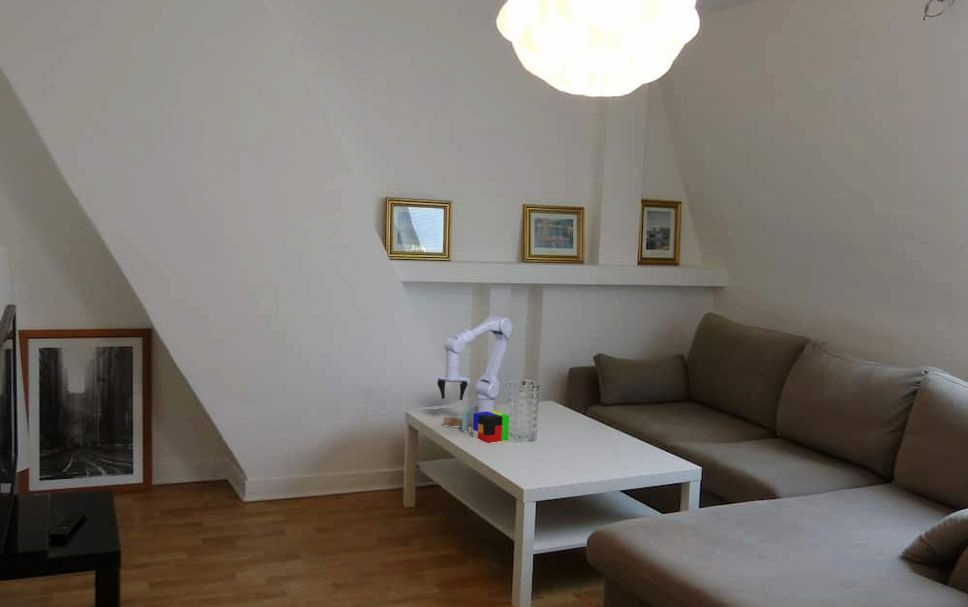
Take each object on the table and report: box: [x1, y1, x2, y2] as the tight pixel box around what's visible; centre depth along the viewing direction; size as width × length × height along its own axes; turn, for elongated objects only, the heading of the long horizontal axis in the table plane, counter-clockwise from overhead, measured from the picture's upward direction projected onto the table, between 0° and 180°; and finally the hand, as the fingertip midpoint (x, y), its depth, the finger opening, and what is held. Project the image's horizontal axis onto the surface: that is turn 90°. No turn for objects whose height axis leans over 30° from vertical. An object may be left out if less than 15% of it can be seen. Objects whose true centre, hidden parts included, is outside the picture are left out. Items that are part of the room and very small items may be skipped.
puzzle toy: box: [472, 410, 510, 444], centre depth 360 cm, size 10×10×10 cm
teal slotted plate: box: [461, 404, 475, 432], centre depth 375 cm, size 14×2×8 cm, turn 170°
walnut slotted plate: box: [443, 416, 473, 428], centre depth 376 cm, size 20×2×4 cm, turn 80°
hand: (452, 399), depth 381 cm, fingers open, 7 cm apart
